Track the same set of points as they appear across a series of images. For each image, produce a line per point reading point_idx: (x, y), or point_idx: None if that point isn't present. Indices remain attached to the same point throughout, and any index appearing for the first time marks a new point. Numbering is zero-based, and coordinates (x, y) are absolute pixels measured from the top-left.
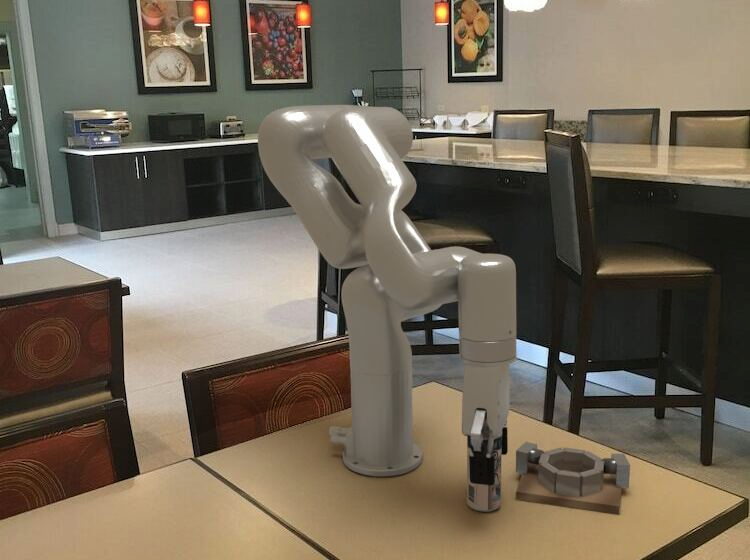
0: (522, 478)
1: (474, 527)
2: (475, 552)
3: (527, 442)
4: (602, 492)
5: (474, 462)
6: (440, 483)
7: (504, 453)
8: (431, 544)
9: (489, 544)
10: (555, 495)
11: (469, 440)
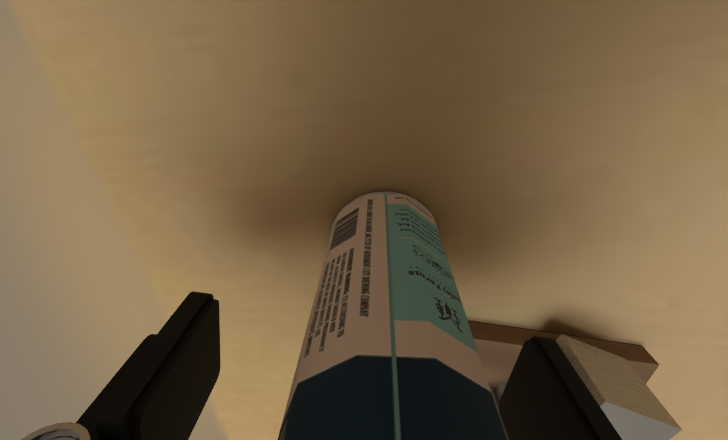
0: (518, 349)
1: (251, 216)
2: (125, 224)
3: (672, 432)
4: None
5: (89, 407)
6: (540, 79)
7: (500, 407)
8: (106, 93)
9: (178, 256)
10: None
11: (328, 417)
